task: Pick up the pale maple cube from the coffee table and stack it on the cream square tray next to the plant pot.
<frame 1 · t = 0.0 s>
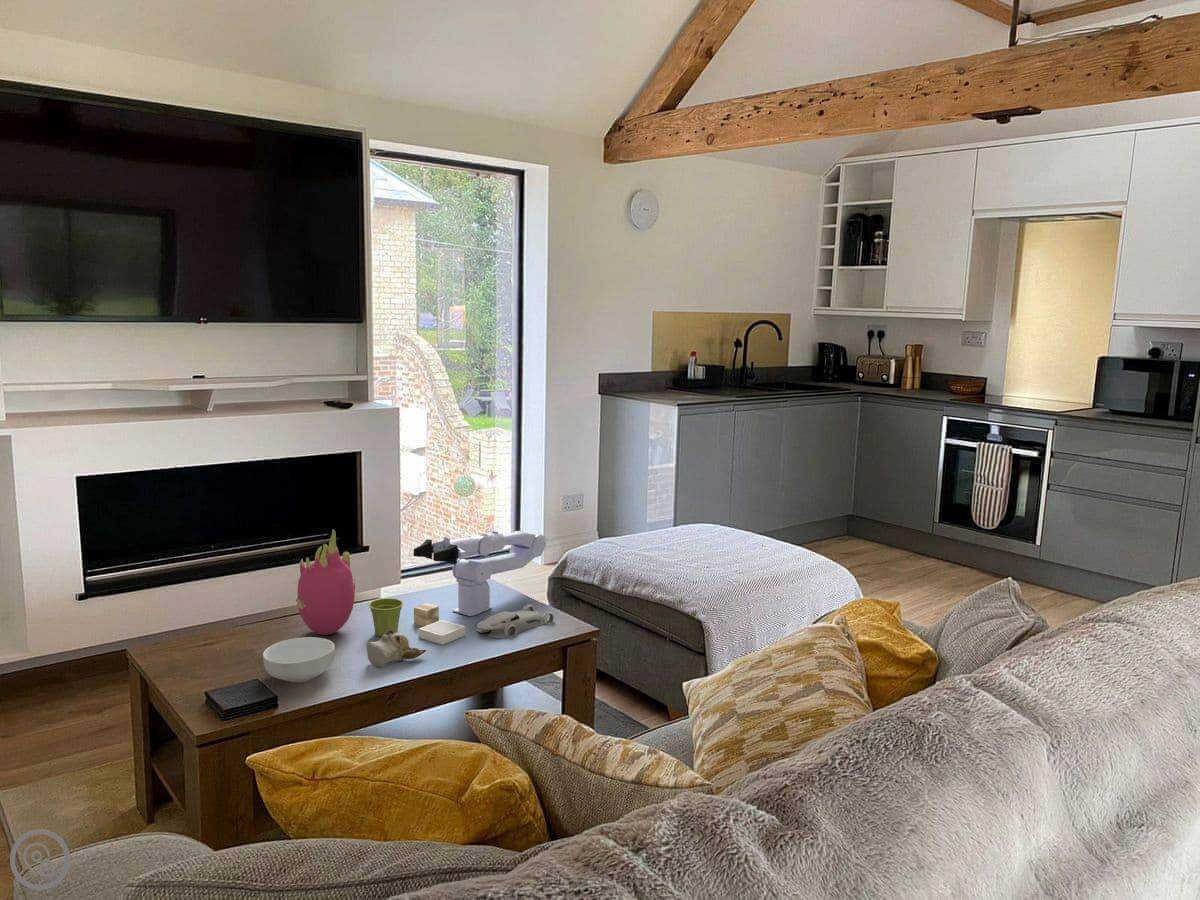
hand: (424, 554, 252), 22 cm above the table, tool horizontal, fingers open, 7 cm apart
cereal bowl: (300, 676, 221), on the table
cream square tray: (442, 636, 250), on the table
car model: (513, 628, 258), on the table
pink dragon fruit: (327, 634, 250), on the table
maple cube: (426, 623, 260), on the table
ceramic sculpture: (392, 662, 232), on the table
plant pot: (386, 633, 251), on the table
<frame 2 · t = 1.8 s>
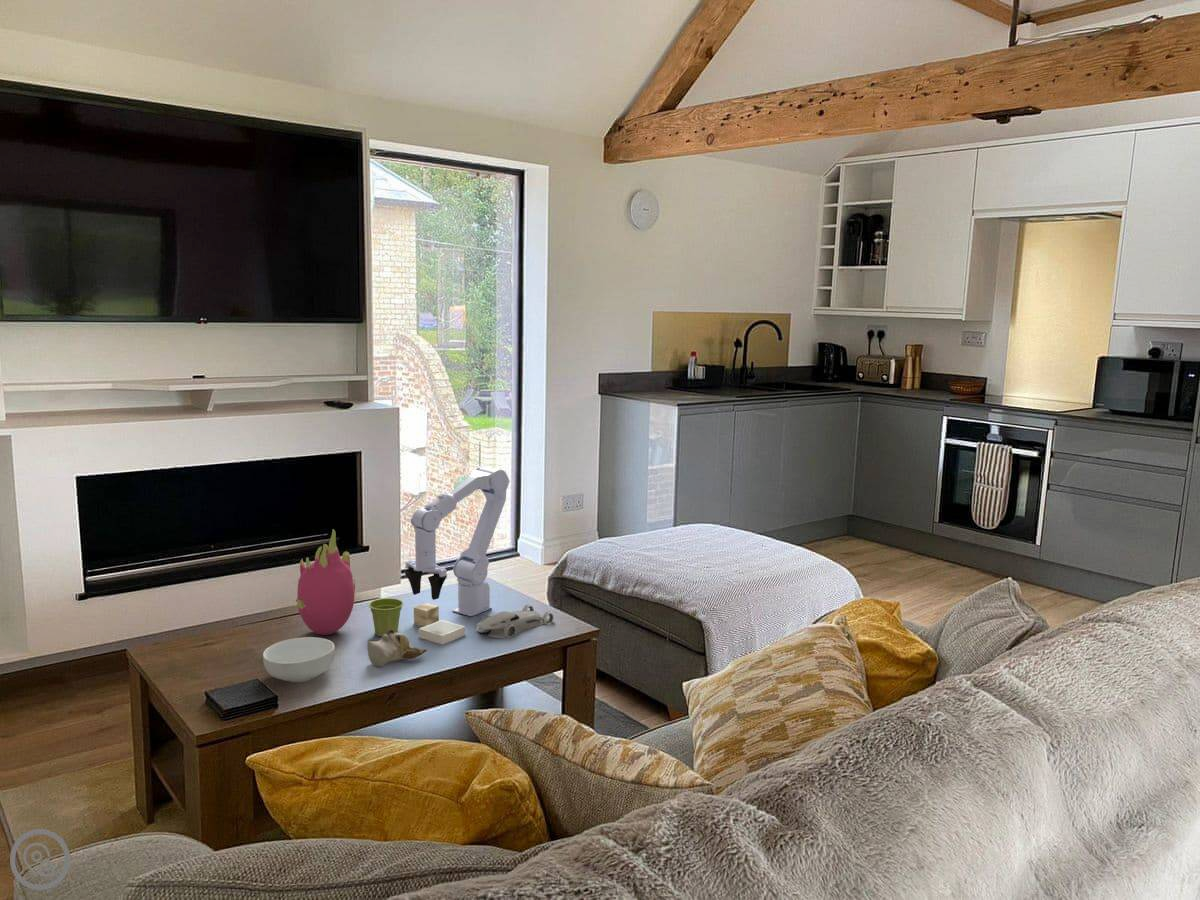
hand: (425, 596, 258), 8 cm above the table, tool pointing down, fingers open, 7 cm apart
nothing on the table moved.
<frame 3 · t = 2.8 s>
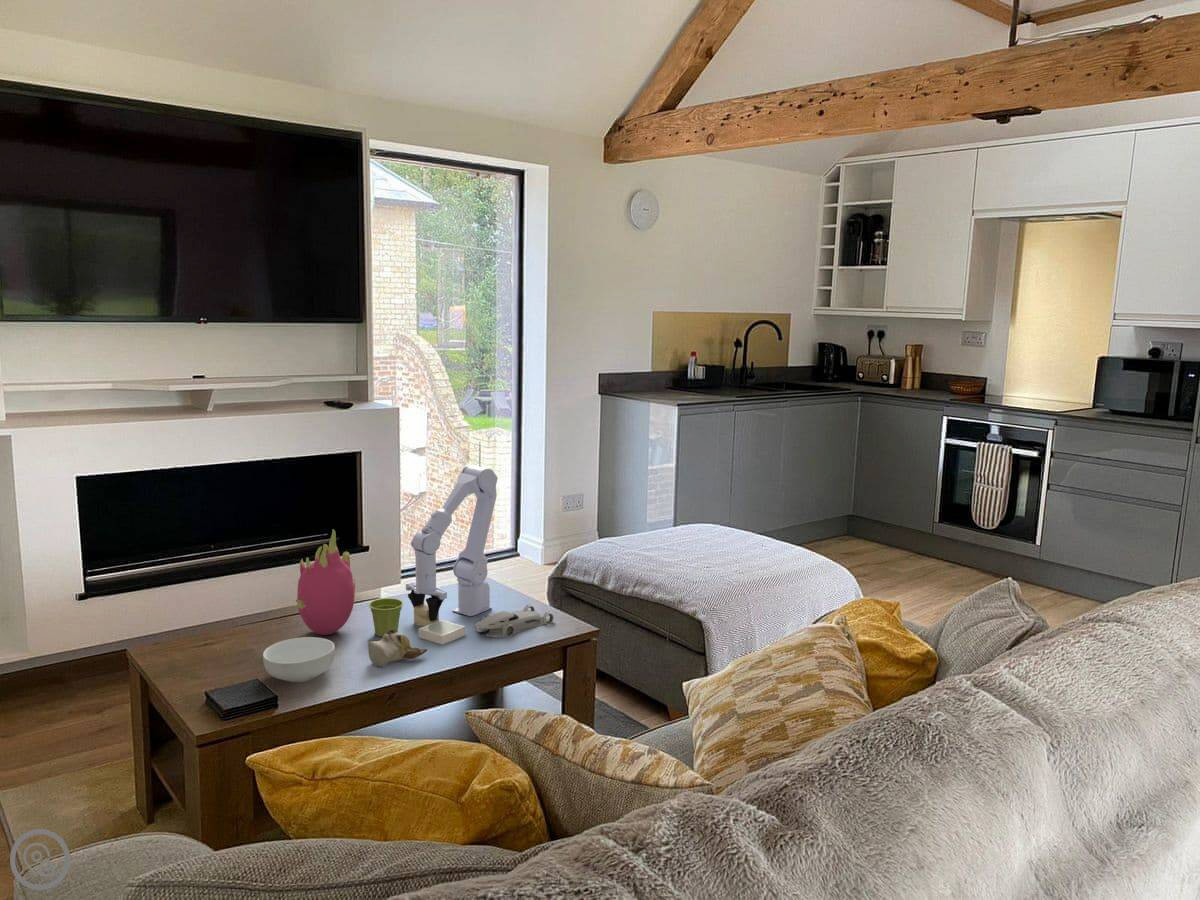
hand: (426, 618, 260), 1 cm above the table, tool pointing down, fingers closed on maple cube, 5 cm apart
maple cube: (426, 623, 260), on the table, touching gripper
everything else where it was.
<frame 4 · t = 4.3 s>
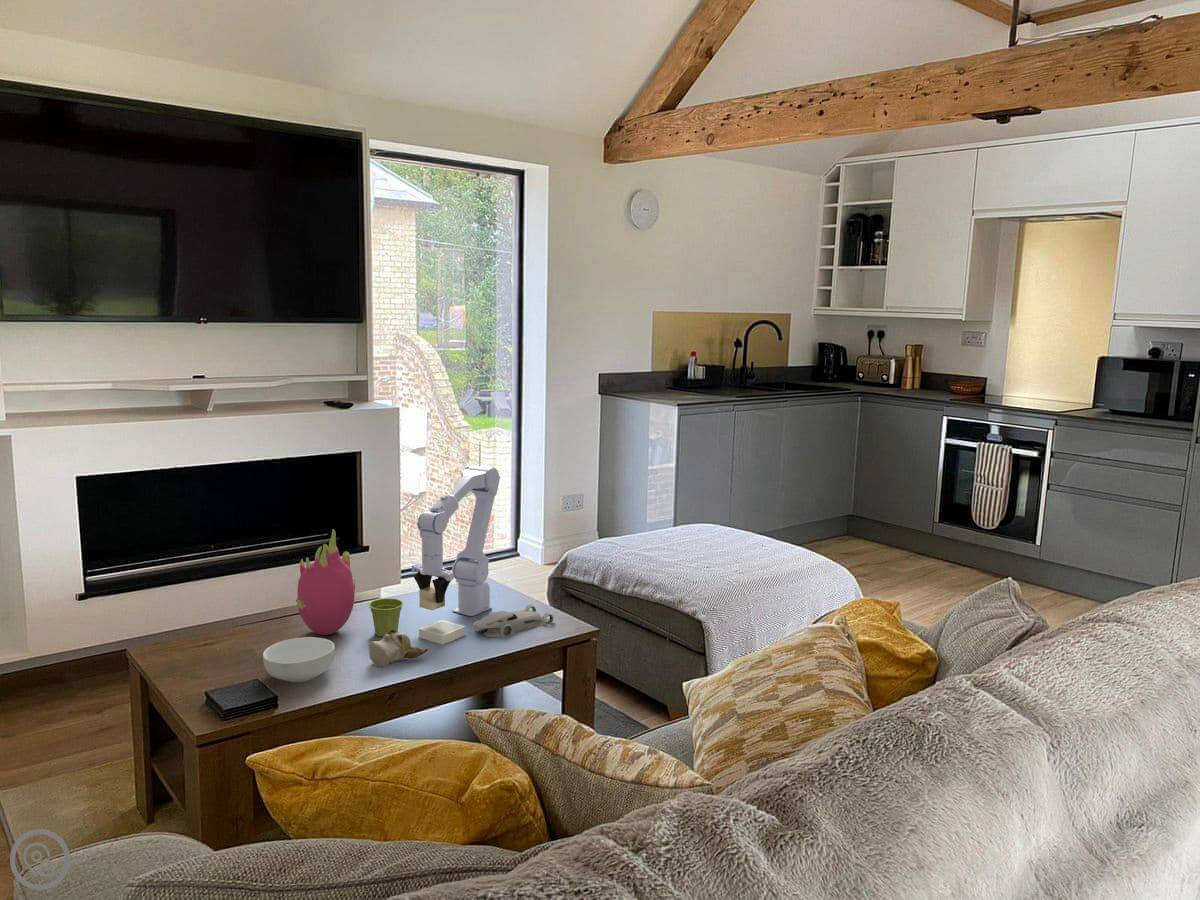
hand: (432, 600, 254), 8 cm above the table, tool pointing down, fingers closed on maple cube, 5 cm apart
maple cube: (432, 606, 254), point 7 cm above the table, touching gripper
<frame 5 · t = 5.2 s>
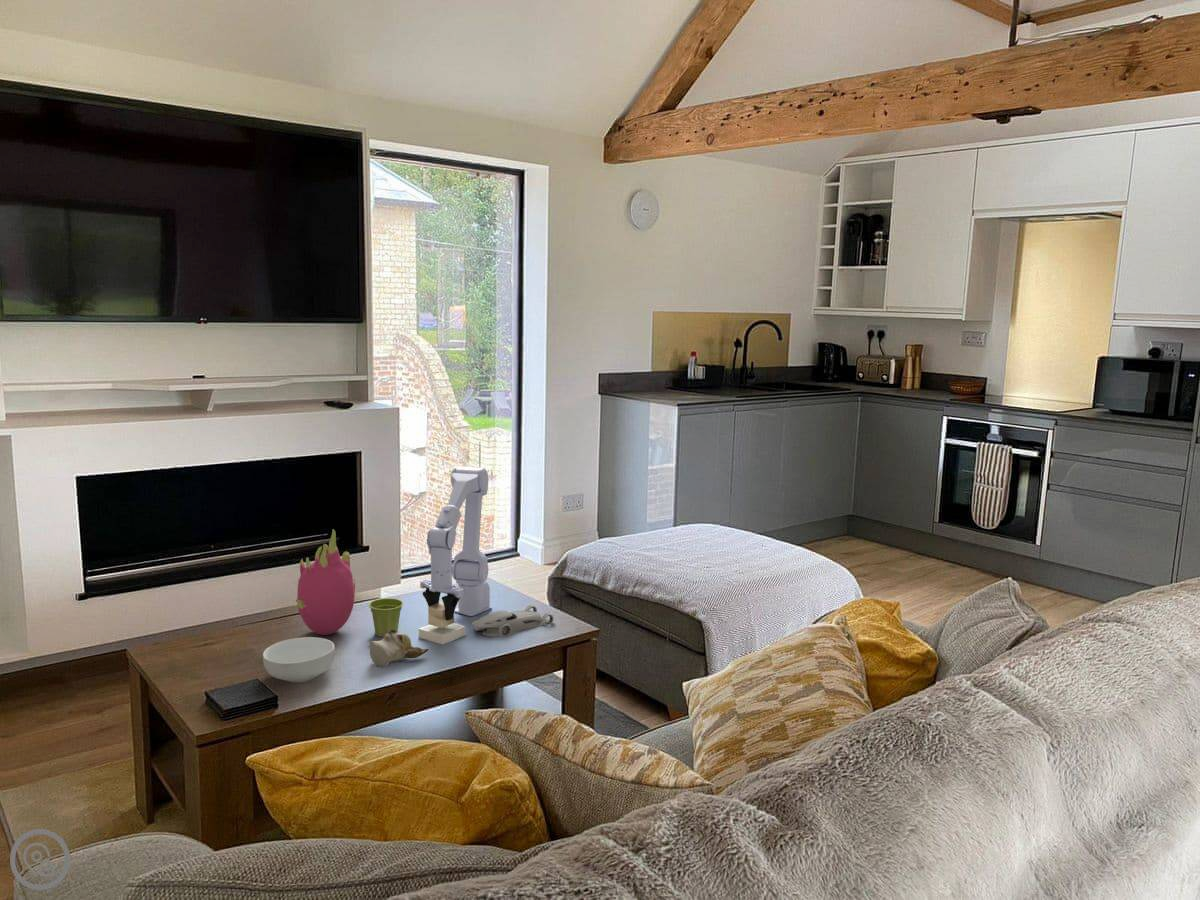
hand: (441, 617, 249), 5 cm above the table, tool pointing down, fingers closed on maple cube, 5 cm apart
maple cube: (441, 623, 249), point 4 cm above the table, touching gripper
when the fingers open (5 cm above the table, at t = 5.7 s): maple cube drops 1 cm, resting on cream square tray.
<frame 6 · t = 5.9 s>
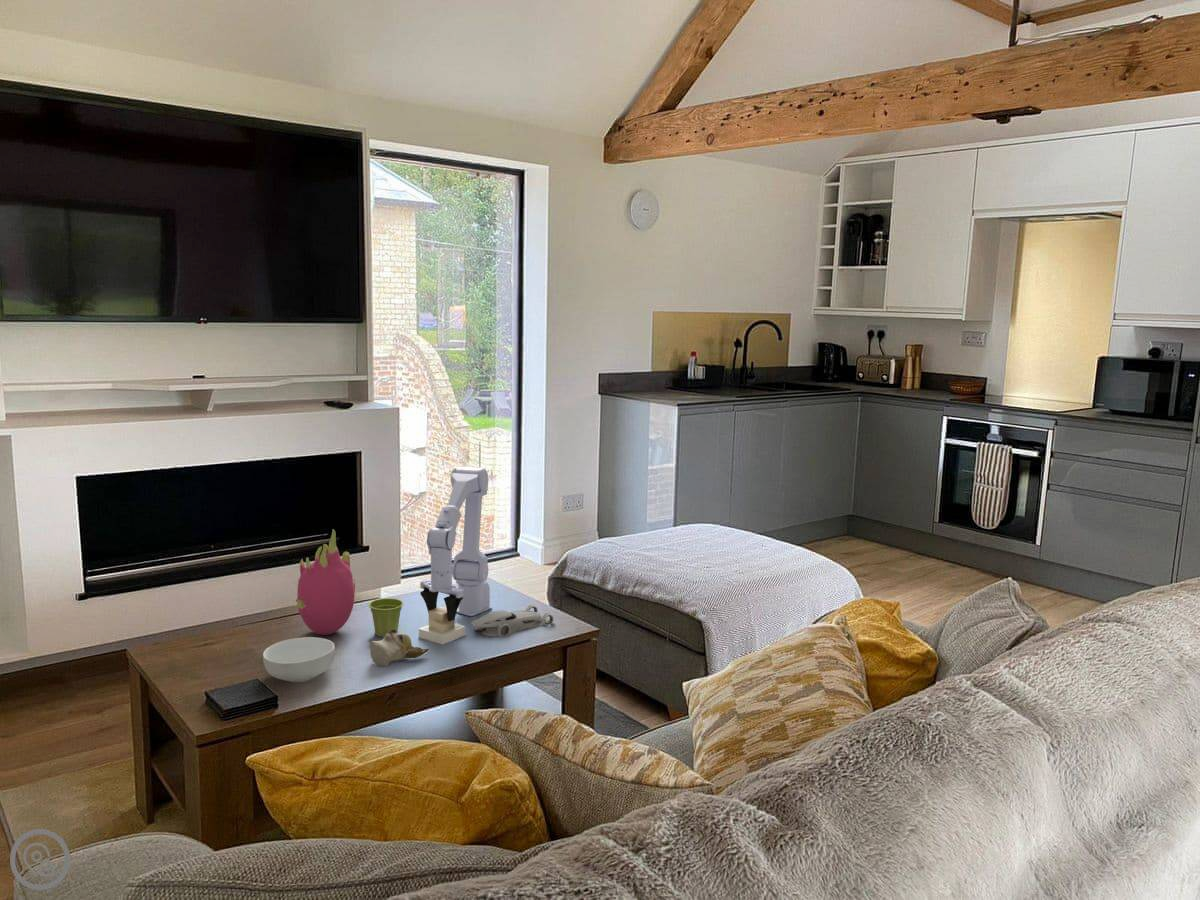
hand: (441, 617, 249), 5 cm above the table, tool pointing down, fingers open, 7 cm apart
maple cube: (441, 627, 249), point 3 cm above the table, touching cream square tray
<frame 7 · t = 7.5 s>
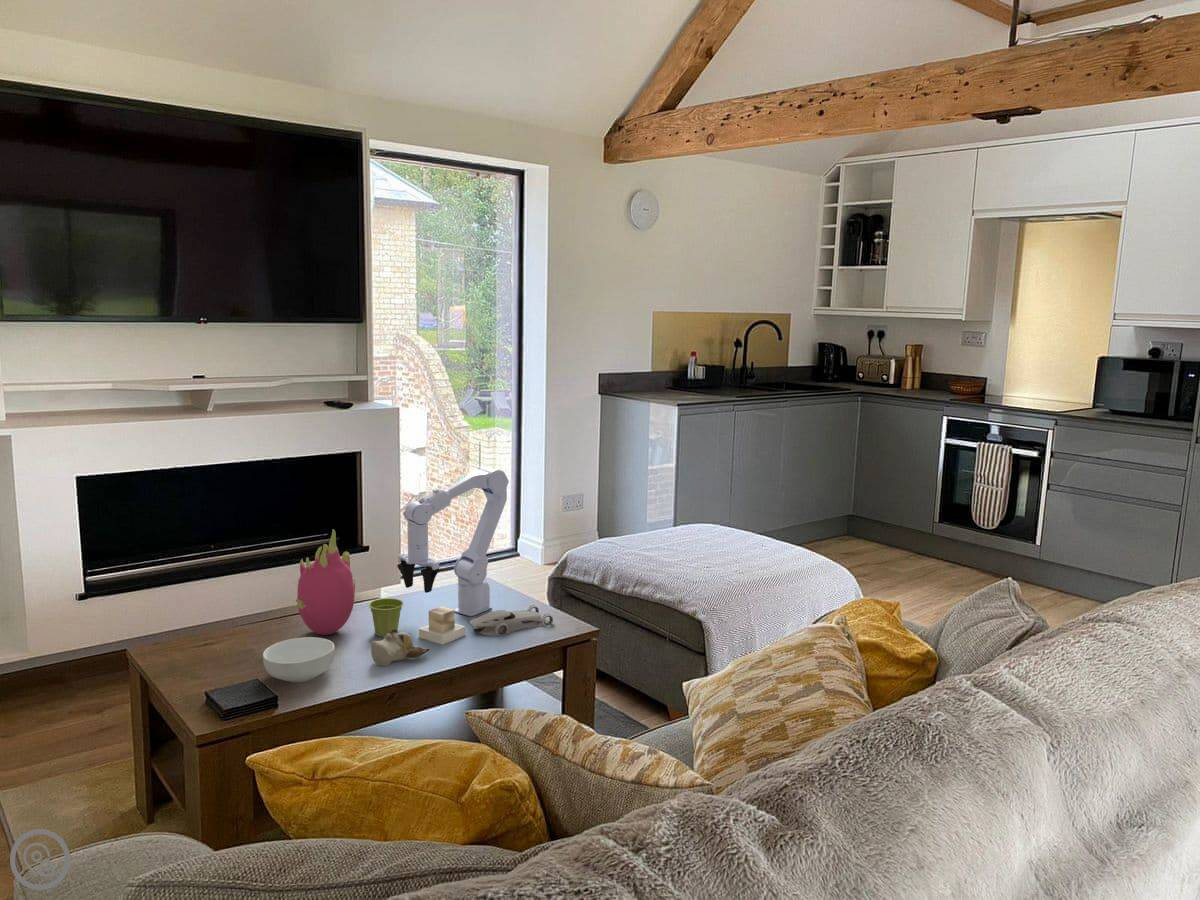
hand: (418, 589, 259), 10 cm above the table, tool pointing down, fingers open, 7 cm apart
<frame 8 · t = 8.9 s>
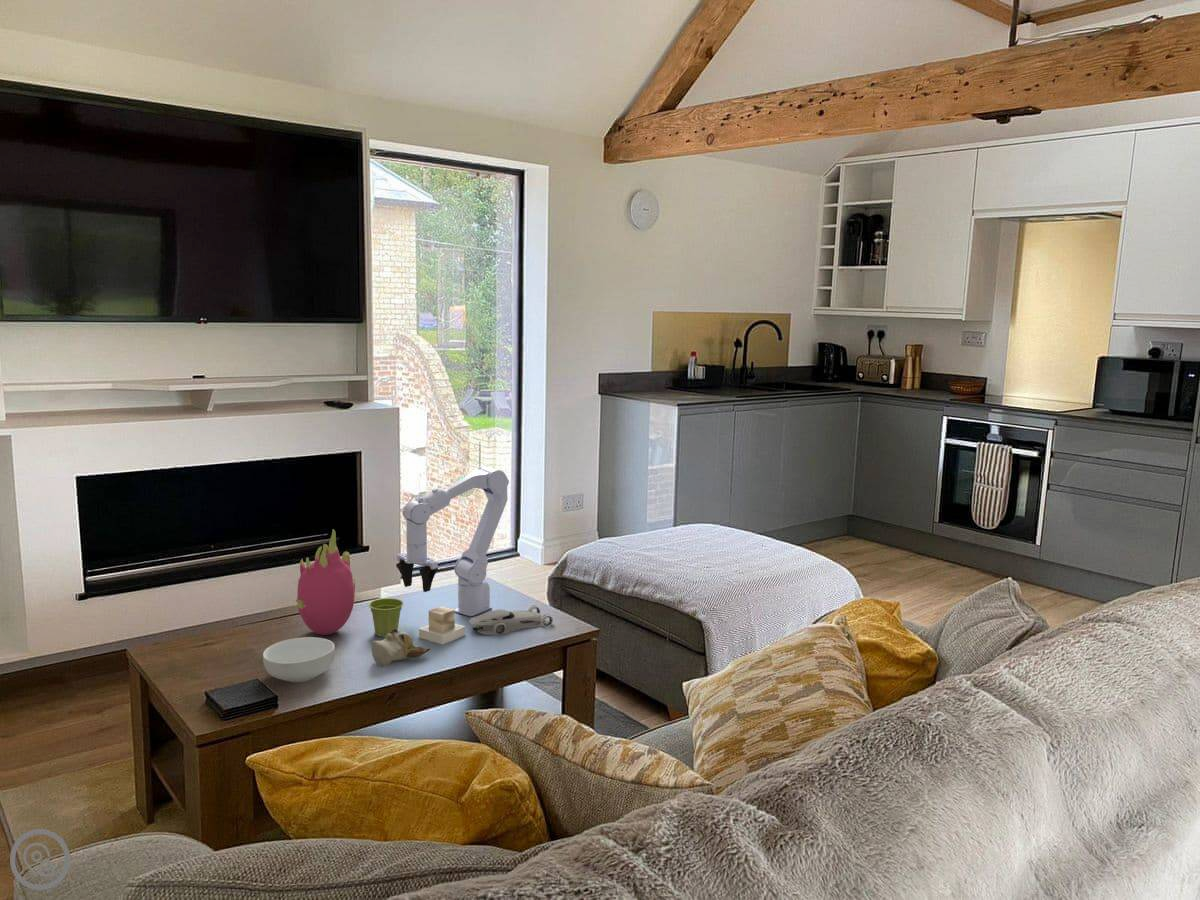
hand: (417, 588, 259), 10 cm above the table, tool pointing down, fingers open, 7 cm apart
at the end: maple cube inside the target area on the cream square tray (0.1 cm from its centre), point 2.5 cm above the cream square tray's base; maple cube tilted 0°; the gripper is holding nothing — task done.
